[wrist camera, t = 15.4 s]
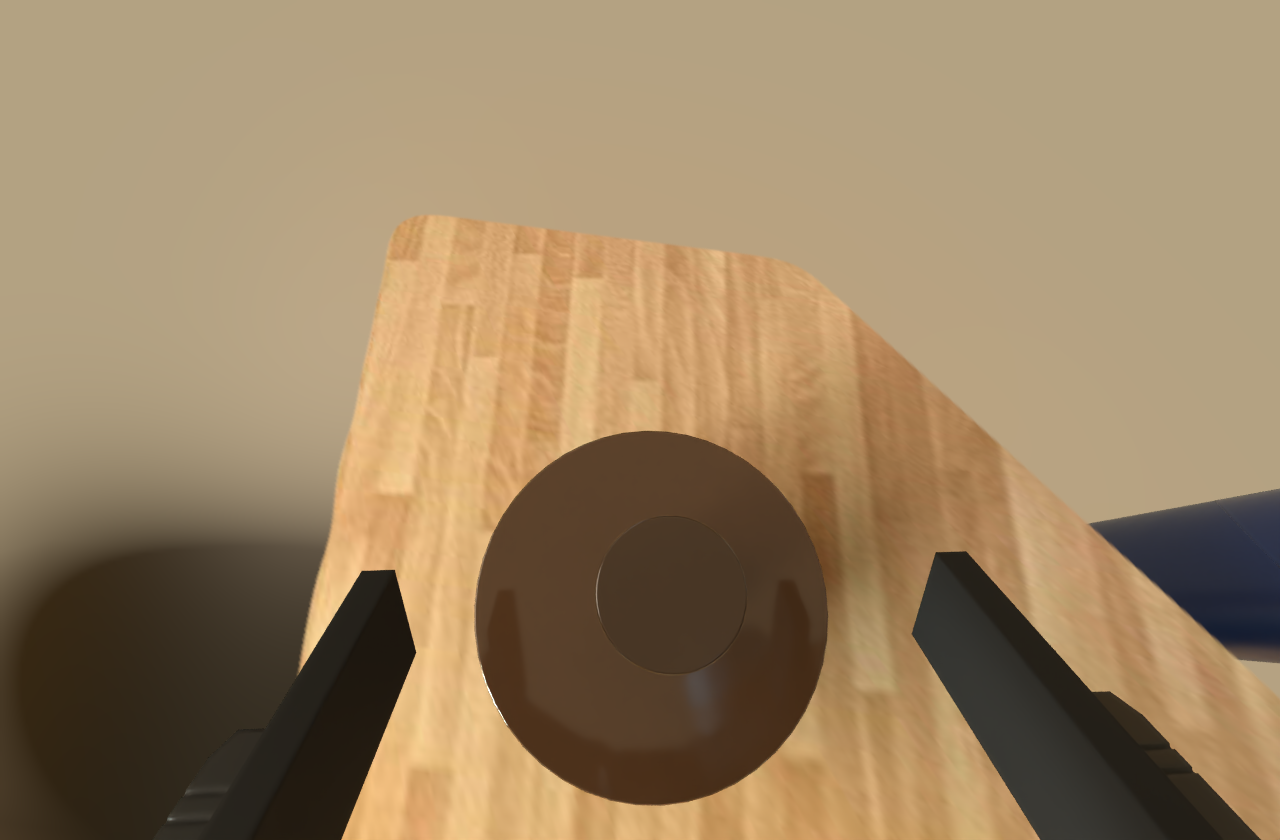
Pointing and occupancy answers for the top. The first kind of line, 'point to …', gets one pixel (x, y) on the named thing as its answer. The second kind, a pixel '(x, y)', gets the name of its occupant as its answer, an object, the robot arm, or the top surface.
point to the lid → (651, 618)
